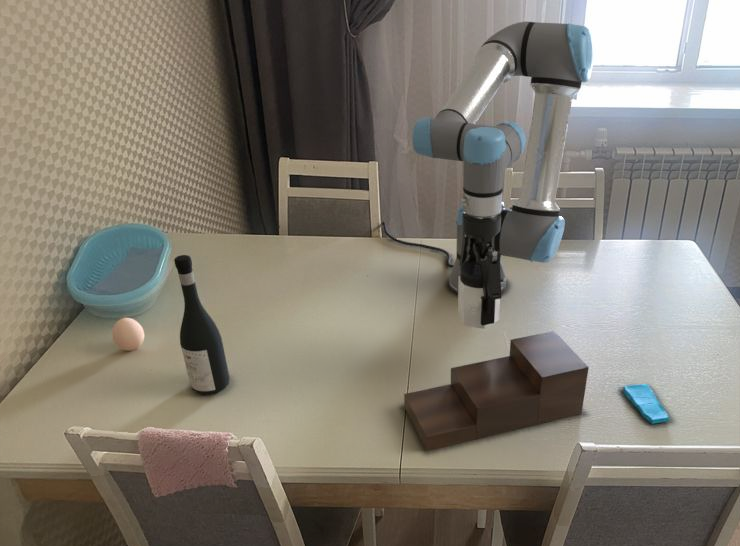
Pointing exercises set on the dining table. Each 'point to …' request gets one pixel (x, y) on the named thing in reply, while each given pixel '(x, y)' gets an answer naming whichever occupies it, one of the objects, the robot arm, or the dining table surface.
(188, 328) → the wine bottle
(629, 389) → the sponge
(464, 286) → the jar
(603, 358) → the dining table surface
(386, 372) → the dining table surface
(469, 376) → the step shelf
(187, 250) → the dining table surface
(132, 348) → the egg
